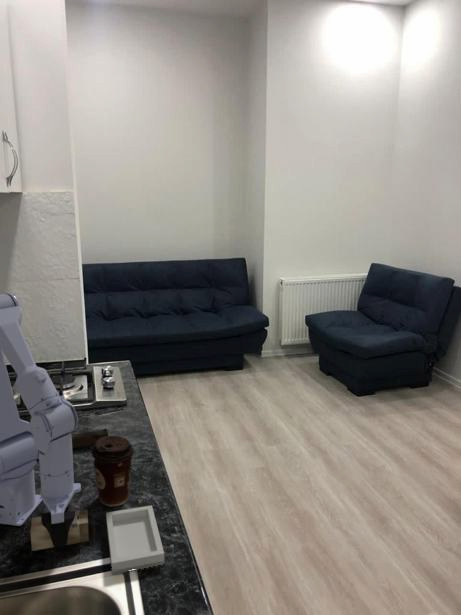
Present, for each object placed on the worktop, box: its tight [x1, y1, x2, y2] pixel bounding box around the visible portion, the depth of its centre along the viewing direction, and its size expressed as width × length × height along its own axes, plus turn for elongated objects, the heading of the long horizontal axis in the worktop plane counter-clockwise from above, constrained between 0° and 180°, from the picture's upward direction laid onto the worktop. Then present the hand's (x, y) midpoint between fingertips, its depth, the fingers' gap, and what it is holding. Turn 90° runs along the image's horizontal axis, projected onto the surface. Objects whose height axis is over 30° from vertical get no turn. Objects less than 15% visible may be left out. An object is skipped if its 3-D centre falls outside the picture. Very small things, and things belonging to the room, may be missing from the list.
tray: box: [105, 505, 165, 576], centre depth 94 cm, size 14×9×2 cm, turn 17°
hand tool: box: [71, 428, 110, 449], centre depth 127 cm, size 19×4×5 cm, turn 109°
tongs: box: [30, 508, 90, 552], centre depth 95 cm, size 10×4×4 cm, turn 107°
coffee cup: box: [90, 435, 134, 507], centre depth 106 cm, size 9×8×13 cm
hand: (60, 532), depth 95 cm, fingers open, 7 cm apart
